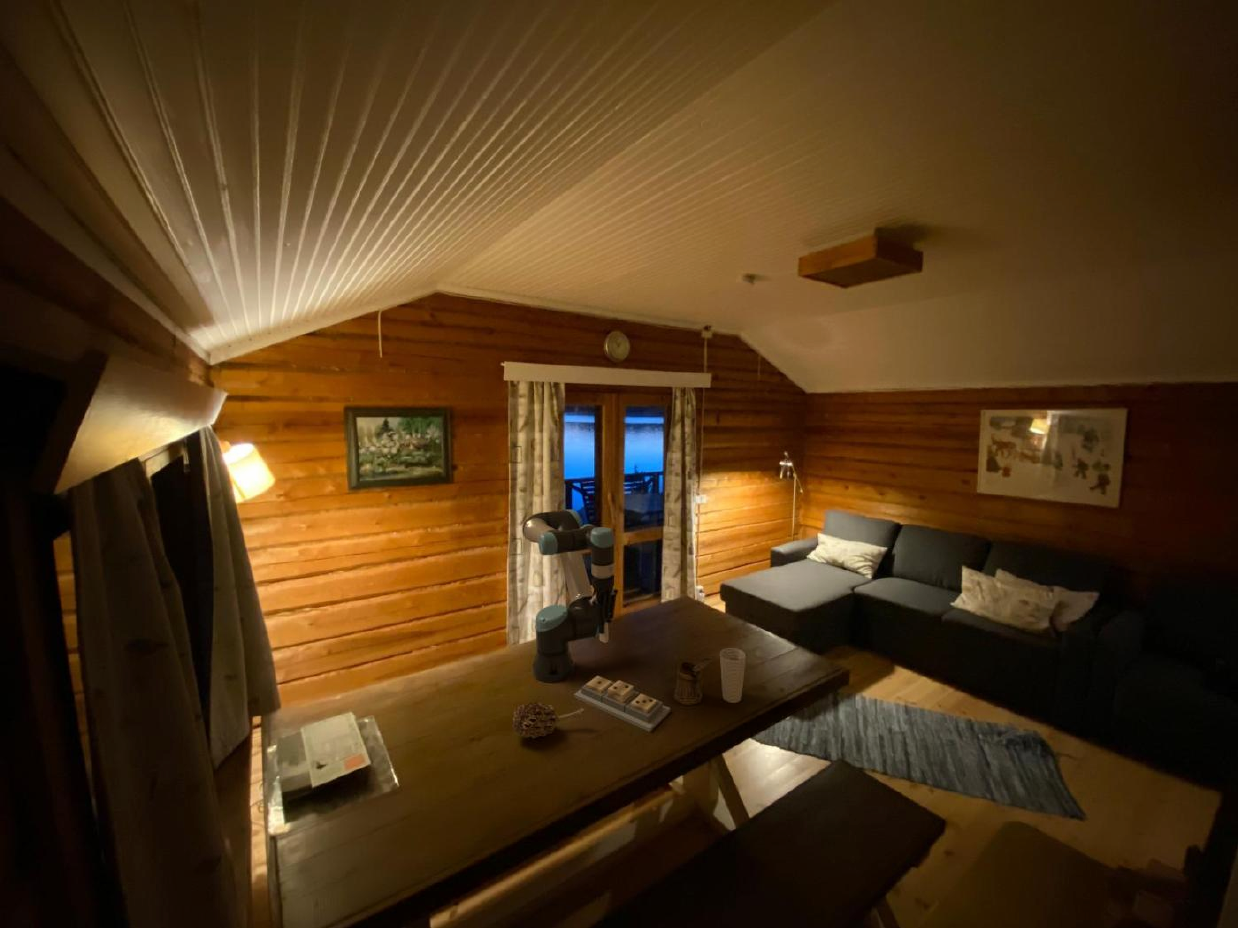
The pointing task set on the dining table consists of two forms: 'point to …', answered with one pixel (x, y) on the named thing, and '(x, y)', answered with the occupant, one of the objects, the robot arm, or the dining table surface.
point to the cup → (732, 673)
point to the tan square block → (599, 684)
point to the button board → (623, 708)
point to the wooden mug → (689, 682)
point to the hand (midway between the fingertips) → (604, 640)
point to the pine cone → (538, 719)
